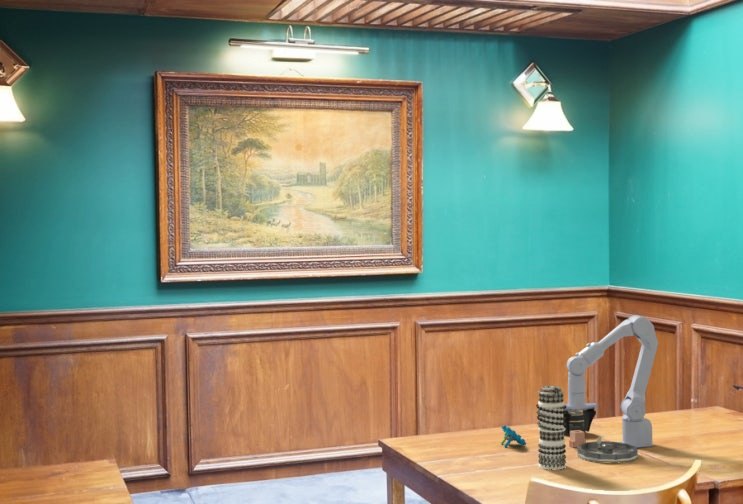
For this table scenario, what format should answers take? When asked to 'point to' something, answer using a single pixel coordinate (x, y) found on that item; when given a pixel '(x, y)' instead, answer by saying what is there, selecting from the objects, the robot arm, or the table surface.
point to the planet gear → (576, 438)
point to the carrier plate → (616, 451)
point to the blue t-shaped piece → (511, 436)
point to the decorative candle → (551, 428)
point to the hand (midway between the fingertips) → (576, 431)
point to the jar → (576, 421)
